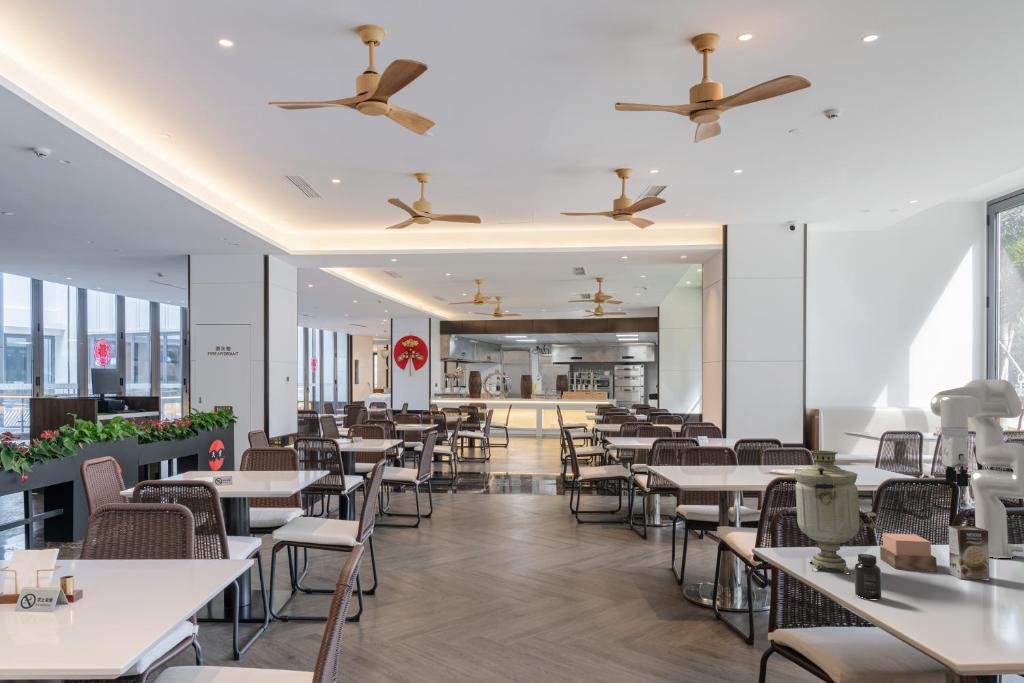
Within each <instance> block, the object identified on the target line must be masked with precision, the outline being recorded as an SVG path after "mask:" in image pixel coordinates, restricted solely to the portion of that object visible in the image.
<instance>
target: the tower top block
mask: <svg viewBox="0 0 1024 683" xmlns="http://www.w3.org/2000/svg"><path fill="white" fill-rule="evenodd" d="M931 543H932V542H931V541H929V540H927V539H926V538H923V537H921V536H919V535H917V534H909V533H906V534H905V533H887V532H884V533H882V547H884V548H885V549H887V550H889V551H890V552H892V553H894V554H896V555H906V556H926V557H931V555H932V547H931V546H932V544H931Z"/></svg>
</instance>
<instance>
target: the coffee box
mask: <svg viewBox="0 0 1024 683" xmlns="http://www.w3.org/2000/svg"><path fill="white" fill-rule="evenodd" d="M948 551H949V552H948V553H949V555H948V556H949V557H948V558H949V560H948V562H949V574H950V576H953V577H956V578H957V579H959V580H969V579H990V580H991V578H990V557H989V546H988V531H987V530H984V529H981V528H978V527H976V526H962V525H961V526H960V525H948Z"/></svg>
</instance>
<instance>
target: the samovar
mask: <svg viewBox="0 0 1024 683" xmlns="http://www.w3.org/2000/svg"><path fill="white" fill-rule="evenodd" d="M809 453H811V454H812V455H813V461H814V462H815V464H813V465H811V466H809V467H808V468H804V469H799V470H795V471H793V476H794V478H795V480H796V481H797V482H796V483H795V500H796V501H795V502H796V516H797V517H796V521H797V525H798V528H799V529H800V531H801V532H802V533H803V534H805V535H806V536H807V537H808V538H809V539H811V540H813V541H815V542H817V549H820V552H818V553H816V555H814V556H812V559H811V560H810V561H811V562H812V563H811V564H813V565H814V567H813V568H816V569H819V570H820V569H822V568H827V569H829V568H831V569H838V570H840V571H842V572H843V573H844V574H845V573H850V571H848V570H847V567H848V566H847V561H846V560H845V559H844V558H843V557H842V556H841V555H839V554H837V551H840V550H841V544H842V543H843V544H844V543H846V542H849V541H850V540H851V541H852V539H853V538H855V537H856V536H857V535H858V533H859V532H860V530H863V529H864V527H868V528H869V529H870V530H875V529H876V530H877V531H878V532H881V531H883V528H881V526H880V525H878V524H876V523H875V522H874V520H873V517H875V516H877V514H876V513H875V512H873V511H865V512H864V515H866V516H867V517H869V522H863V519H862V518H860V507H859V506H860V504H859V503H860V502H859V488H858V487H857V485H856V482H857V479H858V474H859V473H857V472H853V471H851V470H847V469H842V468H841V467H840V466H837V465H834V463H835V462H836V455H837V454H838V453H839V451H834V450H810V451H809Z"/></svg>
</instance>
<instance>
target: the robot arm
mask: <svg viewBox="0 0 1024 683" xmlns="http://www.w3.org/2000/svg"><path fill="white" fill-rule="evenodd" d="M930 410H931V412H932V413H933V415H935V416H938V417H940V432H941V433H940V434H941V437H942V440H941V441H942V442H941V463H942V464H943V465H944V472H945V476H944V477H945V481H946V482H947V483H956V486H957V487H968V486H969V471H968V470H969V452H968V443H967V442H968V441H967V439H968V438H969V419H968V418H970V420H971V422H972V424H973V425H974V428H975V459H976V461H977V463H978V464H979V465H981V466H983V467H984V466H985V467H993V468H1002V469H1003V468H1004V469H1011V470H1012V471H1005V470H994V469H993V470H992V469H977V470H974V471H973V472H972V473H971V475H970V484H971V489H972V492H973V493H972V494H973V501H974V502H973V503H974V516H975V517H974V519H975V521H974V522H975V527H978V528H981V529H984V530H987V531H988V546H989V558H990V557H993V558H992V559H998V558H1011V559H1013V558H1014V552H1016V553H1018V552H1019V553H1023V552H1024V547H1023V546H1019V545H1018V546H1017V545H1016V546H1015V545H1011V544H1010V543H1009V541H1008V520H1007V509H1006V506H1005V505H1004V503H1003V502H1002V501H1001V500H1000V499H999V498H1000V497H1001V498H1010V499H1011V498H1012V499H1024V445H1023V444H1022V443H1018V442H1005V441H1004V428H1003V427H1002V426H1001V424H1000V423H999V422H998V421H997V420H996V419H995V418H1001V419H1003V418H1004V419H1005V418H1006V419H1015V418H1018V417H1019V416H1021V414H1022V410H1023V406H1022V402H1021V399H1020V397H1019V395H1018V392H1017V390H1016V388H1015V387H1014V385H1013V384H1012V383H1011V382H1010V381H1009V380H1007V379H997V378H996V379H982V378H981V379H974V380H970V381H969V382H968V383H966V384H964V386H961V387H955V388H951V389H945V390H942V391H939V392H937V393H936V394H934V396H933V397H932V398H931V400H930ZM1012 557H1013V558H1012Z"/></svg>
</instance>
